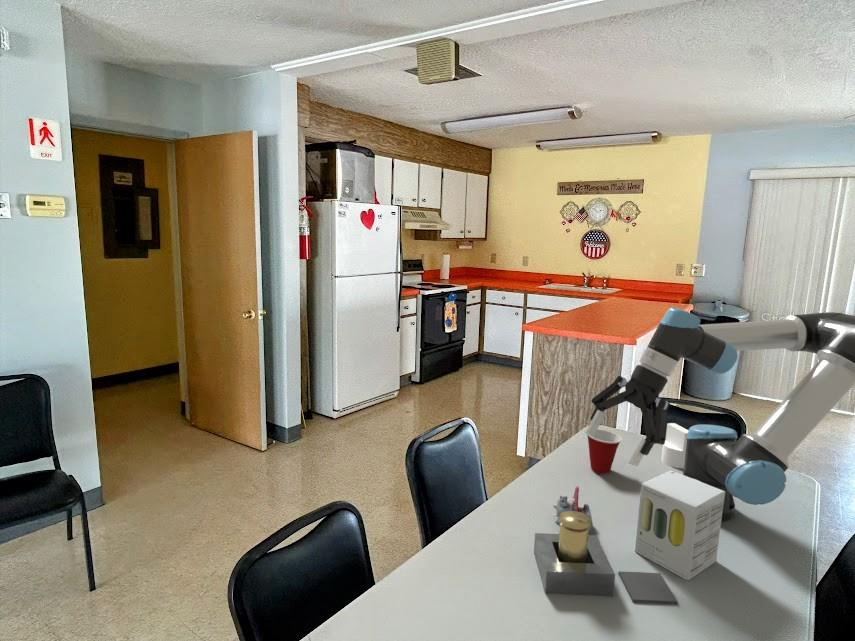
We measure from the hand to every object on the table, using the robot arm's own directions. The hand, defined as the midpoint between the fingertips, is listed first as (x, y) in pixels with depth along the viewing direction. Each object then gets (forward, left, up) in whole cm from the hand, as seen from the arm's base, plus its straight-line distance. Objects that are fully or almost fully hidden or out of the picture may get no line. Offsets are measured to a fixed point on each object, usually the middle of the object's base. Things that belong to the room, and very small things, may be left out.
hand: (610, 448), depth 126 cm
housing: (+11, +14, -23) cm, 29 cm away
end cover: (+11, +14, -23) cm, 29 cm away
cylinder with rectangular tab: (-38, -47, -23) cm, 64 cm away
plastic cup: (-11, -39, -23) cm, 46 cm away
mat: (-4, +18, -23) cm, 30 cm away
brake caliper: (+6, -5, -23) cm, 25 cm away
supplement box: (-15, +6, -23) cm, 28 cm away
